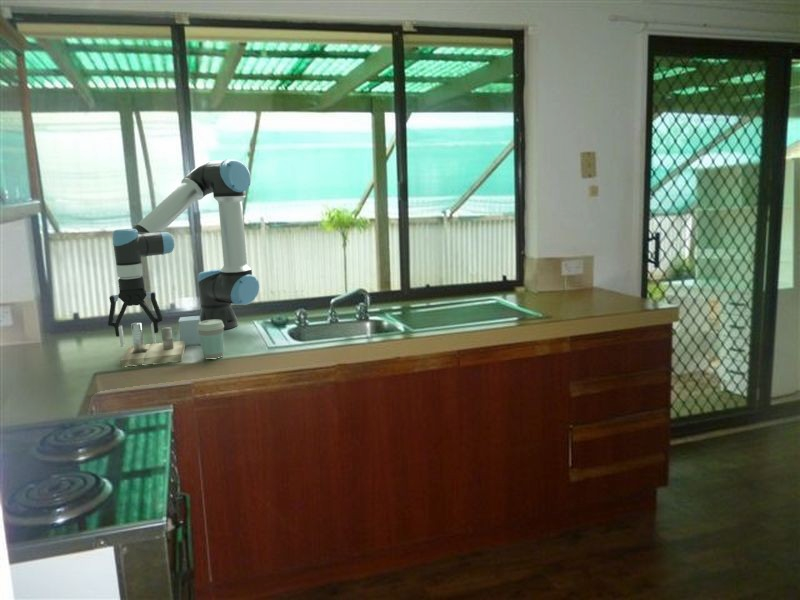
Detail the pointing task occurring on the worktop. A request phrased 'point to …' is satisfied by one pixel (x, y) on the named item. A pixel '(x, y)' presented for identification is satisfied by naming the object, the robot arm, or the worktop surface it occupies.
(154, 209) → the robot arm
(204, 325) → the coffee cup
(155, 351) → the board
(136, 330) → the peg
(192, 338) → the block
